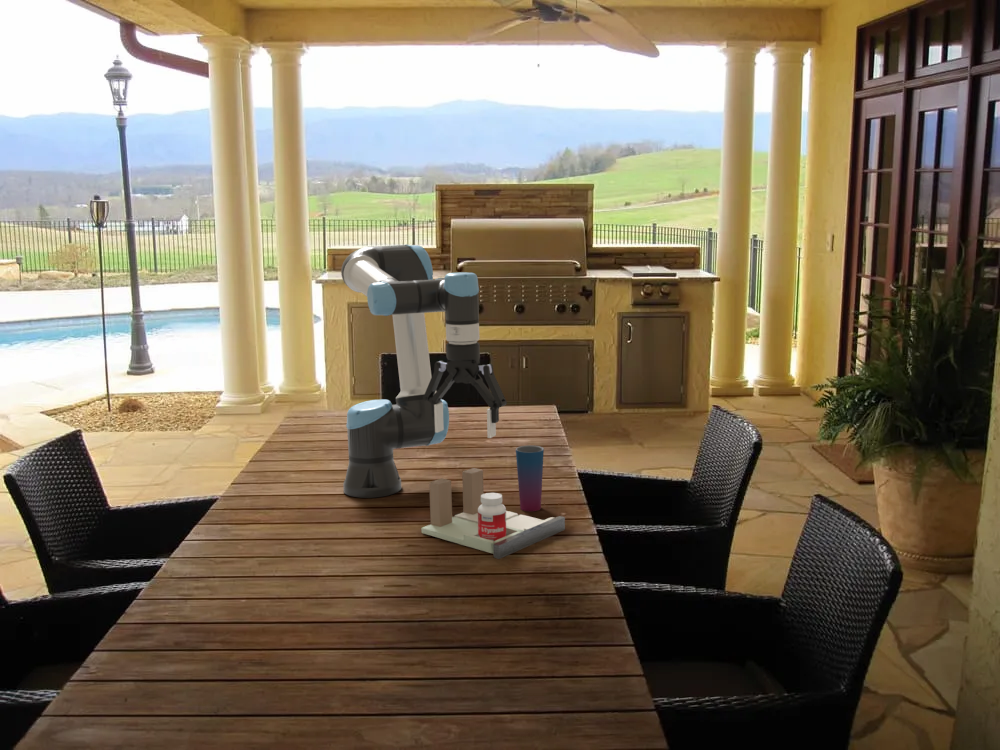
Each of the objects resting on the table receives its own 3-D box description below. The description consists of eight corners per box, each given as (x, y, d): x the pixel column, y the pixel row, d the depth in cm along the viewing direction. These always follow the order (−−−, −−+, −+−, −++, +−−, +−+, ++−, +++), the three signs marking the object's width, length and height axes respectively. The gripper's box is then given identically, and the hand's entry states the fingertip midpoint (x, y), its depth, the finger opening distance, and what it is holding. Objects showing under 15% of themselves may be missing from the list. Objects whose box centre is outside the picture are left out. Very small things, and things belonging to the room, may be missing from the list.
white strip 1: (454, 520, 223) (453, 474, 221) (483, 509, 230) (481, 465, 228) (490, 529, 216) (488, 482, 214) (517, 518, 223) (517, 472, 221)
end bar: (493, 557, 199) (493, 543, 199) (559, 528, 216) (559, 515, 216) (499, 559, 198) (498, 545, 198) (564, 529, 215) (564, 517, 215)
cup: (542, 513, 227) (541, 452, 225) (514, 512, 229) (513, 451, 226) (546, 504, 234) (545, 445, 231) (519, 503, 235) (518, 444, 233)
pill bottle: (478, 549, 204) (477, 500, 202) (478, 539, 210) (476, 491, 208) (507, 548, 204) (506, 499, 202) (506, 538, 210) (505, 491, 209)
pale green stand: (421, 532, 214) (419, 485, 213) (451, 521, 222) (450, 475, 220) (494, 554, 200) (493, 503, 198) (524, 541, 208) (523, 492, 206)
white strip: (493, 530, 215) (493, 520, 215) (521, 519, 222) (521, 509, 222) (527, 539, 209) (527, 529, 208) (555, 527, 216) (554, 517, 216)
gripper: (406, 341, 214) (409, 432, 218) (505, 347, 203) (507, 442, 207) (423, 337, 221) (426, 425, 225) (520, 342, 210) (521, 435, 214)
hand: (465, 434), depth 216 cm, fingers open, 13 cm apart
